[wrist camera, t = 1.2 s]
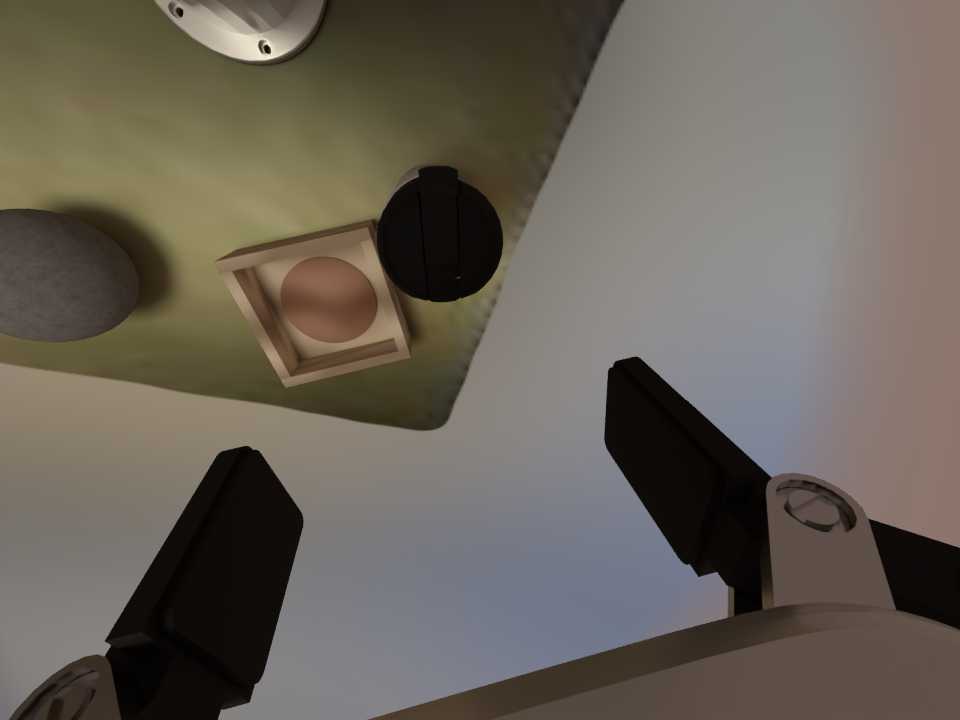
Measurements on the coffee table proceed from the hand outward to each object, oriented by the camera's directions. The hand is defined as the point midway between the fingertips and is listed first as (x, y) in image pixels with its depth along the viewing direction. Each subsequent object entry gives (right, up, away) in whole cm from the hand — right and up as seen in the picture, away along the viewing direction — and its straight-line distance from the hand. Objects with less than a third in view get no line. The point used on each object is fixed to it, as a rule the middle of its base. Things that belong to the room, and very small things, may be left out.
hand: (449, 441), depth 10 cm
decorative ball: (-33, +11, +23) cm, 42 cm away
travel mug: (-4, +17, +24) cm, 30 cm away
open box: (-15, +9, +27) cm, 32 cm away
